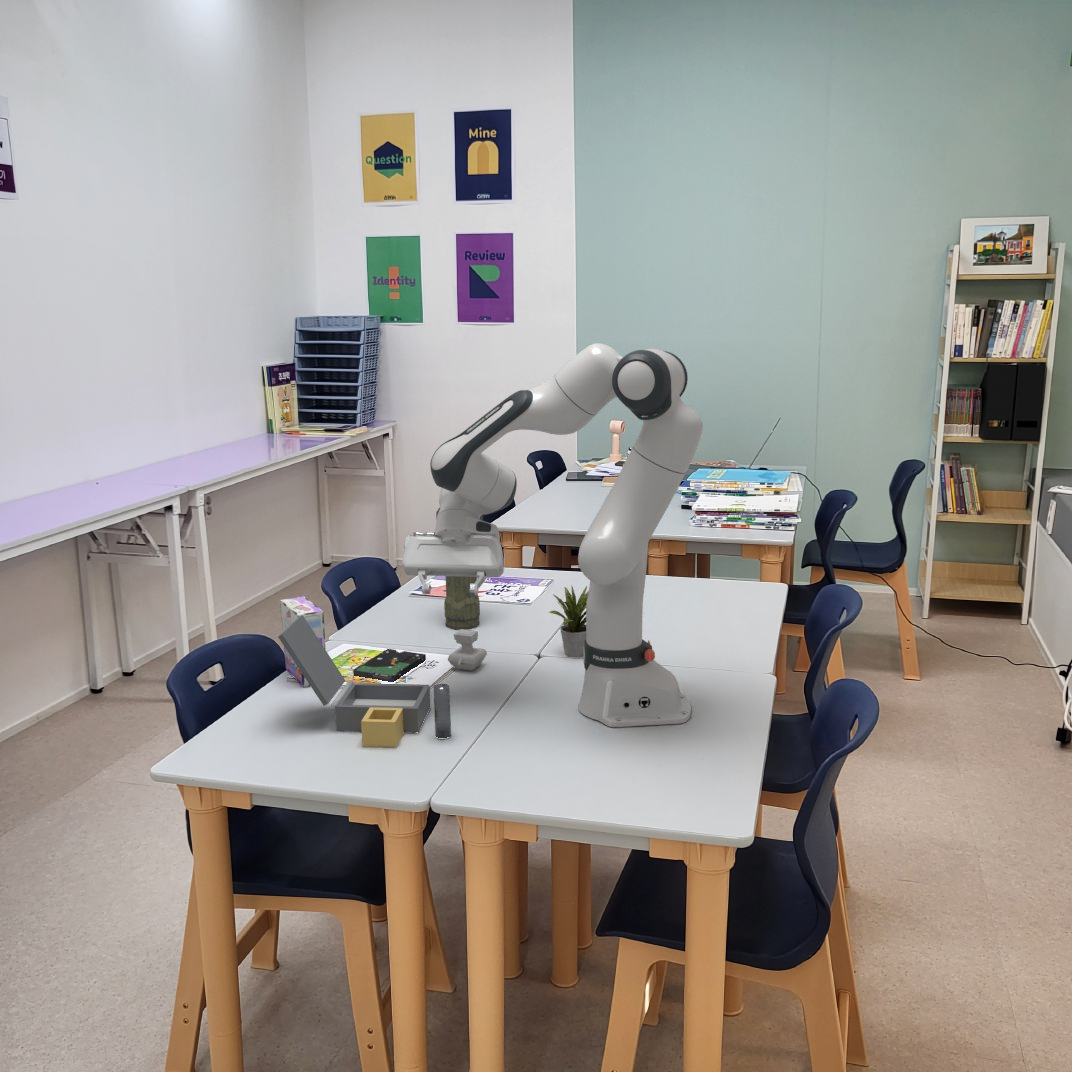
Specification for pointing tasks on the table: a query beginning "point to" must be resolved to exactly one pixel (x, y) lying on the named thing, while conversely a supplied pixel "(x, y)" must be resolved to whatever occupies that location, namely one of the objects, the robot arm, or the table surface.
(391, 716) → the frame
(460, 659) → the stamp
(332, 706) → the case
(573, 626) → the house plant
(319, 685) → the case lid
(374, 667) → the disk drive
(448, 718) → the rod
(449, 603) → the thermos
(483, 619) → the table surface
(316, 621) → the candy box
